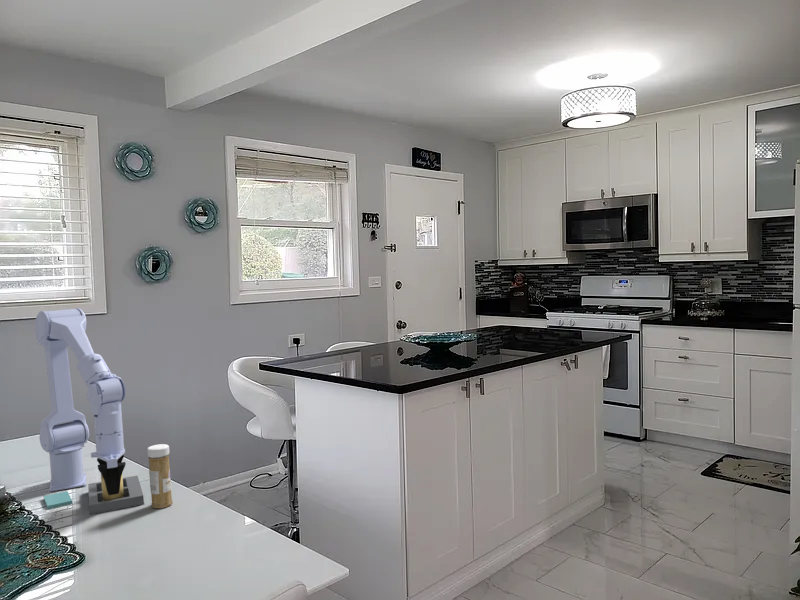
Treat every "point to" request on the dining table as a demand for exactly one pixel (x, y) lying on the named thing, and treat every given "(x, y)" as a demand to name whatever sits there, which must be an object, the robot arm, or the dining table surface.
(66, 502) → the lid plate
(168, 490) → the spice jar
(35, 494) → the dining table surface
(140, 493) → the housing
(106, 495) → the beige cylinder with tab
